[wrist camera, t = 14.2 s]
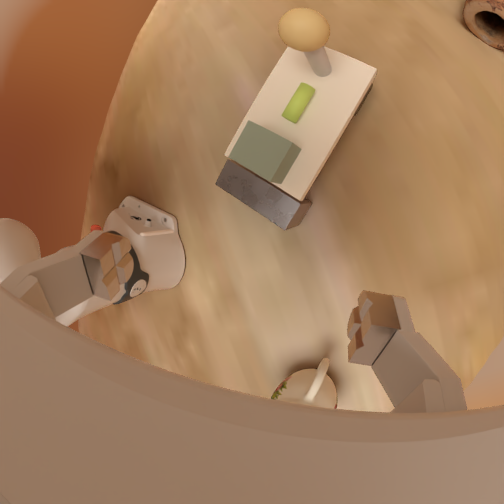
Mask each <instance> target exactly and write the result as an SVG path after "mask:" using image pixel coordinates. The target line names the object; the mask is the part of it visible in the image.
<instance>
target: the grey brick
mask: <svg viewBox="0 0 504 504" xmlns="http://www.w3.org/2000/svg"><path fill="white" fill-rule="evenodd" d="M372 86H373V84H371V85H370V87H369V89H368V91H367V92H366V94H365V96H364V98H363V99H362V101H361V103H360V105H359V106H358V108H357V110H356V111H355V113H354V116H356V115H357V113H358V111H359V109H360V107H361V106H362V104H363V102H364V100H365V99H366V97H367V95H368V93H369V92H370V90H371V88H372ZM216 185H217V186H219V187H220V188H222V189H223V190H225V191H226V192H228V193H230V194H231V195H233V196H234V197H236V198H237V199H239V200H240V201H242V202H243V203H245V204H246V205H248V206H249V207H251V208H252V209H254V210H255V211H257V212H258V213H260V214H261V215H263V216H264V217H266V218H267V219H269V220H270V221H272V222H273V223H274V224H276V225H277V226H279V227H280V228H282V229H283V230H287V229H290V228H293V227H295V226H298V225H299V224H300V222H301V221H302V219H303V217H304V216H305V214H306V213H307V211H308V209H309V208H310V206H311V204H312V203H311V202H310V201H308V200H307V199H305V198H304V199H303V201H299V200H298V199H296V198H295V197H293V196H292V195H290V194H289V193H287V192H285V191H284V190H282V189H281V188H279V187H277V186H276V185H274V184H273V183H271V182H269V181H268V180H266V179H264V178H263V177H261V176H259V175H258V174H256V173H254V172H253V171H251V170H249V169H248V168H246V167H244V166H243V165H241V164H239V163H237V162H236V161H233V160H227V162H226V164H225V166H224V168H223V170H222V172H221V174H220V176H219V178H218V180H217V182H216Z"/></svg>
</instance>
